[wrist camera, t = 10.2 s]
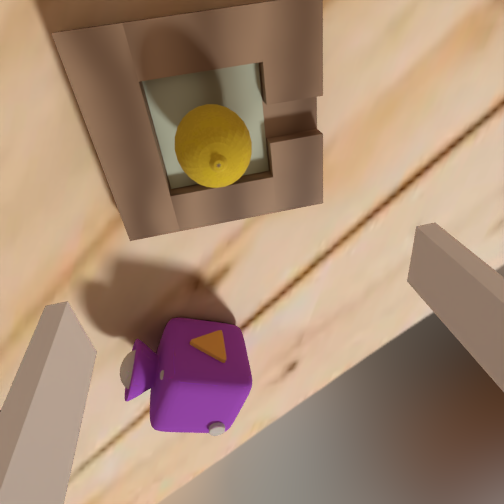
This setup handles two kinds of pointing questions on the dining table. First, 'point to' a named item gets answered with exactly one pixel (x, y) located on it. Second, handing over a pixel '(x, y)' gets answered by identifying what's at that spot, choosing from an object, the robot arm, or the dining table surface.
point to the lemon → (213, 145)
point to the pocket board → (197, 94)
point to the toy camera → (191, 376)
